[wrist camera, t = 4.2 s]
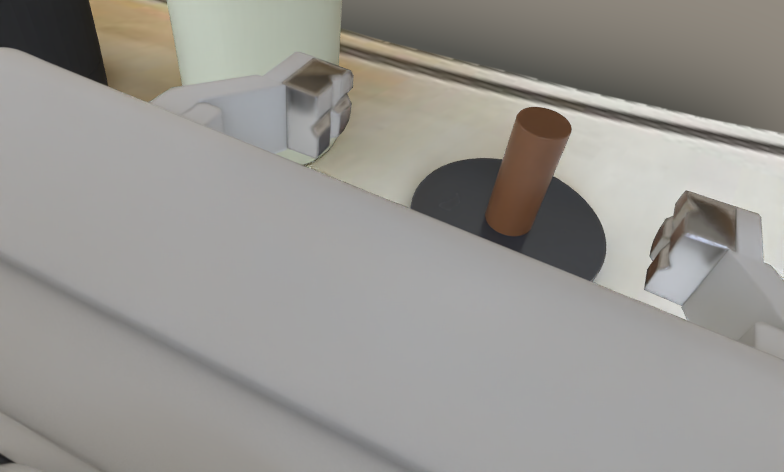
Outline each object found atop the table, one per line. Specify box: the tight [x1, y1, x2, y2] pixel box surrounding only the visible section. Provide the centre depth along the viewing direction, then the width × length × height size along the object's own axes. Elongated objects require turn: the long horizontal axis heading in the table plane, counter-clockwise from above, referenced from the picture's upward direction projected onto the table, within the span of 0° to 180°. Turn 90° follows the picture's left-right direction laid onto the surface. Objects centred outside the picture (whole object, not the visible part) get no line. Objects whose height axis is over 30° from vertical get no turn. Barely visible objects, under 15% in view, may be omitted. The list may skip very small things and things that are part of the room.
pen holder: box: [0, 0, 108, 86], centre depth 30 cm, size 9×9×10 cm
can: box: [167, 0, 342, 165], centre depth 31 cm, size 9×9×12 cm
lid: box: [410, 107, 606, 282], centre depth 28 cm, size 11×11×7 cm
